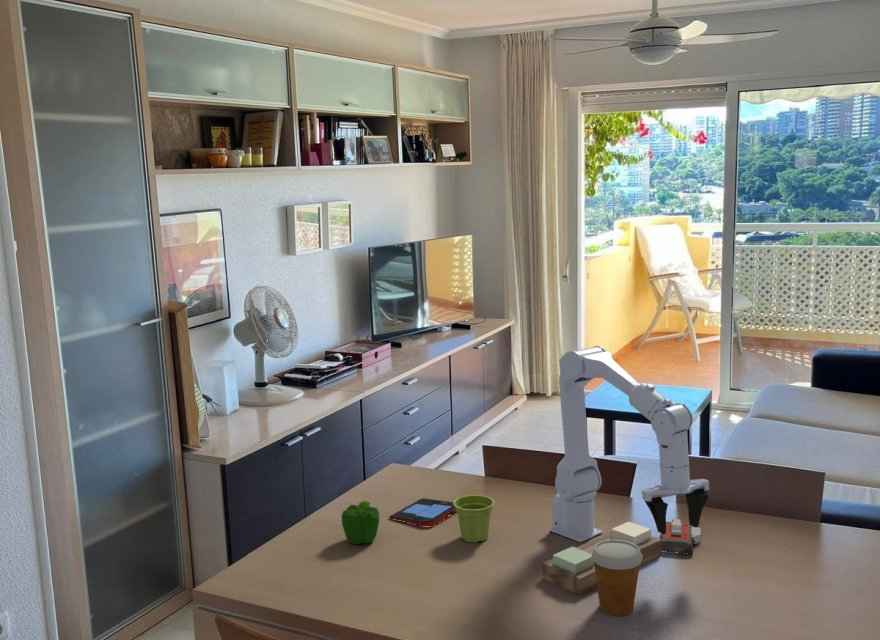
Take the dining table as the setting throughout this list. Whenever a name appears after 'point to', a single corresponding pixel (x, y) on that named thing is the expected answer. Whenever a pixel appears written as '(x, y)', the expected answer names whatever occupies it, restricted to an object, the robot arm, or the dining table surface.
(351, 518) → the bell pepper
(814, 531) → the dining table surface
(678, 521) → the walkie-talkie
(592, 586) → the key base
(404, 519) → the game console
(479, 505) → the plant pot
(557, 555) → the sage key
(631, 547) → the disposable coffee cup
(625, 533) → the cream key
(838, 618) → the dining table surface
